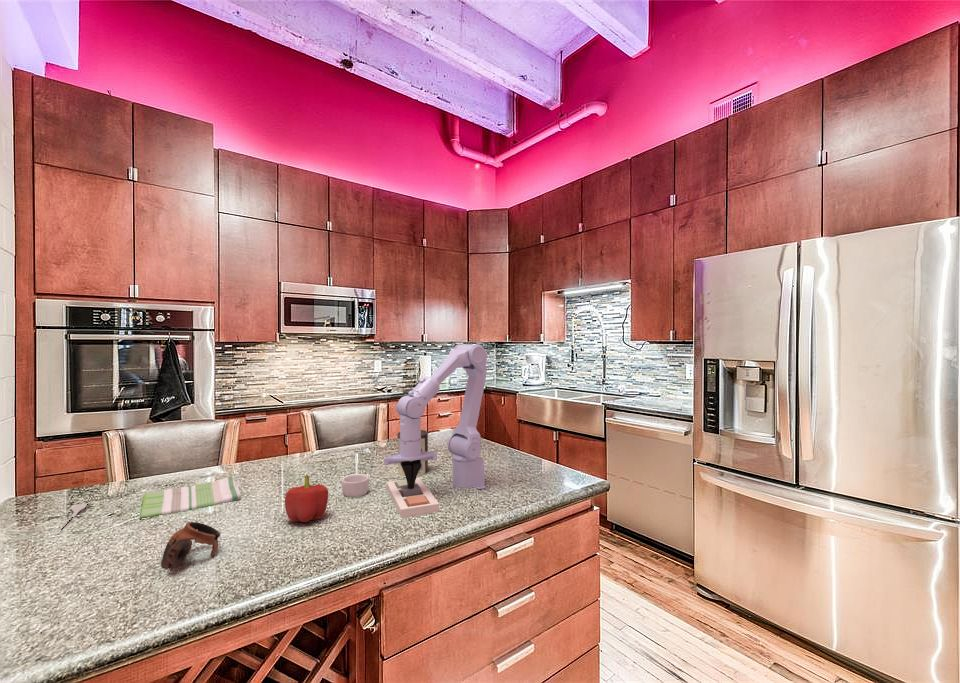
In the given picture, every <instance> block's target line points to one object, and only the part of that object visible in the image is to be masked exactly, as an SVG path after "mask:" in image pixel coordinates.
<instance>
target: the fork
mask: <svg viewBox="0 0 960 683" xmlns="http://www.w3.org/2000/svg"><path fill="white" fill-rule="evenodd" d="M87 504H90V505H93V503H91V502H87V503H78V504H74V506H72V507H71V511H72V512H73V513H72V515H71V516H72V517H73V518H75V517H76V515H77V514H78V513H79V512H80V511H82V510H83V509H85V508H86V507H87V506H88V505H87Z"/></svg>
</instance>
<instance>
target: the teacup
mask: <svg viewBox="0 0 960 683" xmlns="http://www.w3.org/2000/svg"><path fill="white" fill-rule="evenodd" d="M369 485H370V477H369V475H367V474H363V473H353V474H348V475H346V476H343V477H342V478H341V490H342V495H343V496H344V497H347V498H358V497H362V496H365V495H366V494H367V492H368V491H369Z"/></svg>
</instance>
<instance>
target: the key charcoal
mask: <svg viewBox="0 0 960 683" xmlns="http://www.w3.org/2000/svg"><path fill="white" fill-rule="evenodd" d="M415 495H421V488H420V487H419V485H418V484H414V488H413V489H409V488H408V486H407V485H403V486H401V496H402V497H409V496H415Z"/></svg>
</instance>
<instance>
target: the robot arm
mask: <svg viewBox="0 0 960 683" xmlns="http://www.w3.org/2000/svg"><path fill="white" fill-rule="evenodd" d="M487 359H488V353H487V351H486V349H485V348H484V346H482V345H481V344H478V343H477V344H463V343H458V344H456V345H455V346H454V347H453V348H452V349H450V351H449V353H448V356H447V357H446V358H445V360H443V362H442V363H441V364H440V365H439V366H438V368H437V369H436V370H435V371H434V372H433V373H432V374H431V376H424V377H420V379H419V383H418V384H417V385H416V386H415V387H413V388H412V390H409V391H408V395H405V396H401V397H400V399H398V401H397V405H396V406H395V410H396V413H397V414H398V416H399V432H400V454H398V453H396V454H394V455H387V456H384V457H383V465H384V466H385V467H386V466H389V465H396V464H397V465H398V463H400V464H401V466H402V469H403V471H404V474H405V476H404V477H405V479H406V480H407V486H408V488H409V489H413V488H414V484H415V480H416V478H418V476H417V474H418V472H419V470H420V468H421V465H422V463H421V461H424V460H428V461H437V452H436V451H428V452H421V430H422V429H421V428H422V425H421V423H422V420H421V418H422V415H424V413H425V411H426V407H427V405H428V403H429V402H430V401H431V400H432V399H434V397H435V396H436V395H437V394H438V393H439V391H440V385H441V383H442V384H443V382H444V381H445V380H446V379H447V378H448V377H450V375H451V374H452V373H453V372H455V371H456V369H458V368H462V369H463V370H464V371H465V372H466V374H467V376H468V378H467V382H466V387H465V392H464V397H463V402H462V408H461V412H460V417H459V423H458V425H457V426H456V427H455V428H453V429H452V433H451V436H450V437H449V439H448V442H447V449H448V451H449V453H450V454H451V458H452V486H453V487H455V488H459V489H468V488H469V489H470V488H473V487H474V488H475V489H476V490H482V489H483V490H484V489H486V486H485V463H484V460H483V458H482V457H481V456H480V454H481V452H482V444H481V438H482V436H481V434H480V432H479V431H478V429H477V426H478V420H479V415H480V410H481V404H482V400H483V395H484V390H485V389H484V388H485V385H486V379H487V374H488V371H487V370H488V369H487Z"/></svg>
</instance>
